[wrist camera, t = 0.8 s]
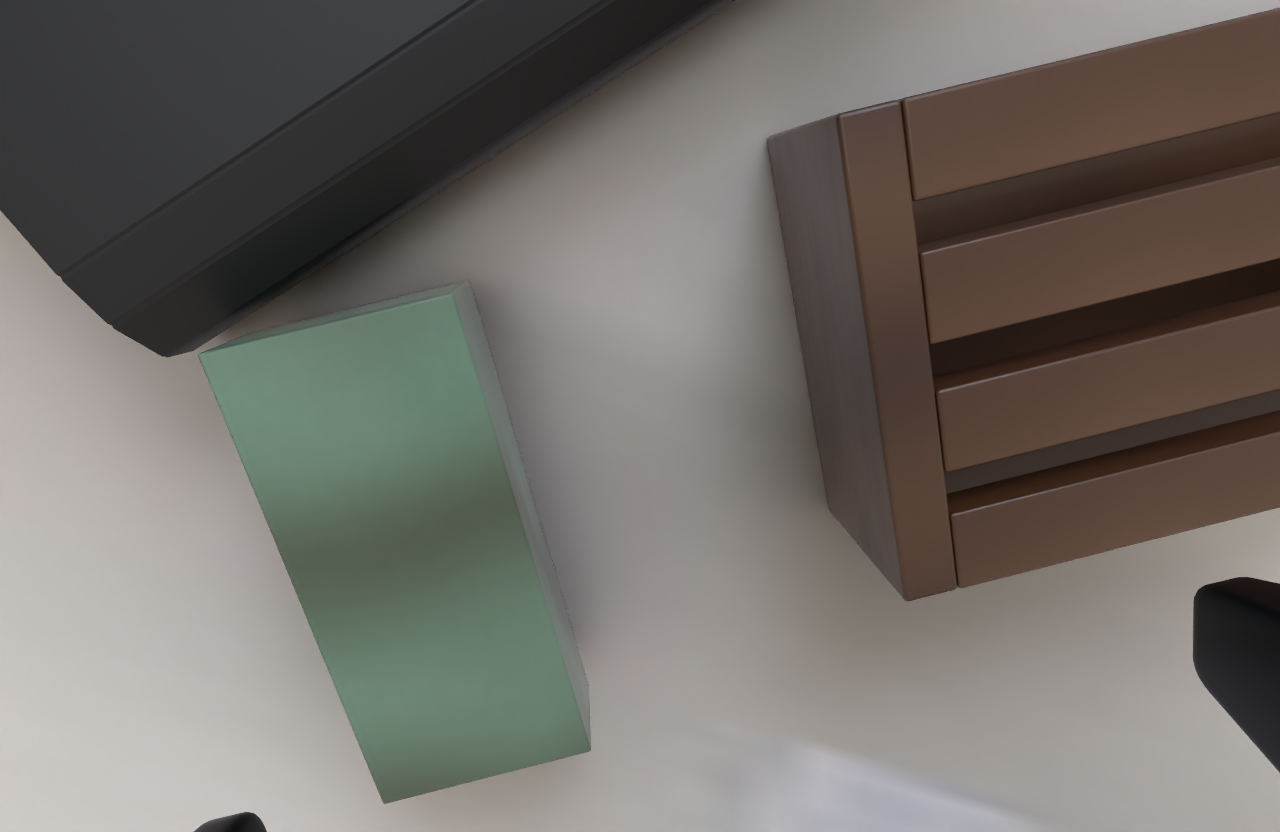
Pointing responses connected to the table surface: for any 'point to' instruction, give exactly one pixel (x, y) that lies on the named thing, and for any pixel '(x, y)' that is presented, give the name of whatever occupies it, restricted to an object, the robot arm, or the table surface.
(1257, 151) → the rack
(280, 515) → the green rectangular block
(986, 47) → the table surface
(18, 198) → the dark leather journal
